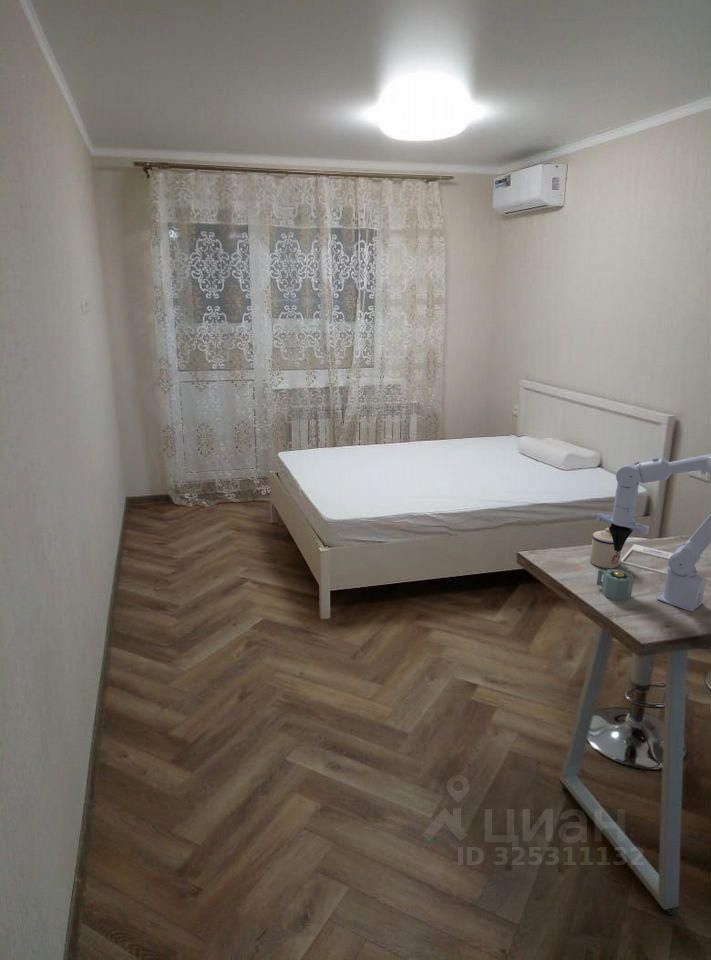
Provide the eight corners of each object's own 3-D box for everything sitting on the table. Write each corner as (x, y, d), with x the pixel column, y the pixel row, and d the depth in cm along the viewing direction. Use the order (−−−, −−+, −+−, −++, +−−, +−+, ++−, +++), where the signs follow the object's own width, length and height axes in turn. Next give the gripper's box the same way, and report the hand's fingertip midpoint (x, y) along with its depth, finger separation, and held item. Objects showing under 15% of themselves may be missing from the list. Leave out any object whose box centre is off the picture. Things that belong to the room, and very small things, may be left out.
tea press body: (634, 595, 181) (637, 575, 179) (622, 602, 176) (625, 583, 174) (602, 583, 187) (605, 565, 185) (590, 591, 182) (593, 571, 181)
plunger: (625, 590, 180) (628, 573, 179) (619, 594, 178) (622, 577, 177) (613, 586, 183) (615, 569, 181) (607, 590, 181) (610, 572, 179)
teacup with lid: (616, 571, 196) (622, 536, 192) (586, 564, 200) (590, 530, 197) (622, 558, 206) (628, 524, 202) (593, 552, 210) (598, 518, 207)
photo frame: (681, 554, 208) (669, 573, 194) (681, 557, 208) (669, 576, 194) (634, 543, 216) (619, 560, 202) (633, 546, 216) (619, 563, 202)
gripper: (656, 509, 179) (649, 554, 183) (607, 496, 189) (600, 539, 193) (645, 514, 174) (638, 560, 178) (595, 501, 184) (589, 545, 188)
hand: (618, 550), depth 185 cm, fingers closed
